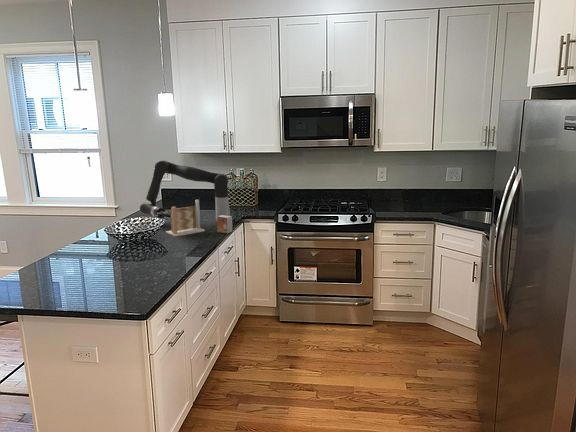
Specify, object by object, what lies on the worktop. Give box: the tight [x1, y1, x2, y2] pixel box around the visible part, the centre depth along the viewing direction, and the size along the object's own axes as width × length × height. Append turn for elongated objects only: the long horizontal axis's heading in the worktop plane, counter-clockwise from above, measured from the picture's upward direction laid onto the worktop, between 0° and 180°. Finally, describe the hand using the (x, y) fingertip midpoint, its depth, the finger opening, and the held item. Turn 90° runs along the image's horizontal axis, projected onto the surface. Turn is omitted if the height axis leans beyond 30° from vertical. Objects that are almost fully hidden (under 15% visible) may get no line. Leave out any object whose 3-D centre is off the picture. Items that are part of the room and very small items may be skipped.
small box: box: [216, 215, 233, 234], centre depth 292 cm, size 8×6×10 cm
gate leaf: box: [169, 205, 197, 232], centre depth 289 cm, size 17×1×15 cm, turn 132°
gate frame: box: [165, 199, 206, 237], centre depth 291 cm, size 21×13×20 cm, turn 132°
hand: (170, 216), depth 297 cm, fingers closed
